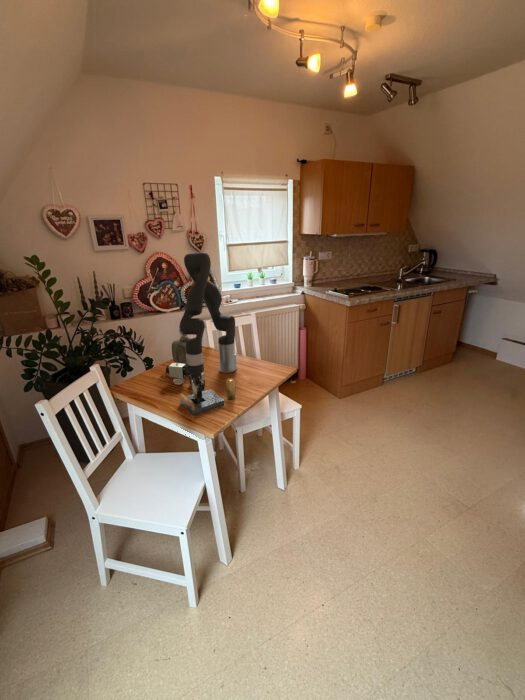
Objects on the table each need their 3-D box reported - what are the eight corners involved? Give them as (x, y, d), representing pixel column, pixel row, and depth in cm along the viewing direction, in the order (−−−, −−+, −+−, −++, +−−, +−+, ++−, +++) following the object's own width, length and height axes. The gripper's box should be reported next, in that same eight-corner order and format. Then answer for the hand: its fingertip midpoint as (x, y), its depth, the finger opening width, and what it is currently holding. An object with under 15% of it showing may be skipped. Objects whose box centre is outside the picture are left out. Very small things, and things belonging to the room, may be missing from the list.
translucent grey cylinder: (199, 398, 153) (198, 380, 150) (203, 402, 150) (202, 383, 147) (192, 401, 151) (190, 382, 148) (195, 404, 148) (194, 385, 145)
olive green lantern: (200, 369, 192) (197, 328, 183) (189, 374, 185) (185, 332, 176) (184, 363, 199) (180, 324, 191) (172, 368, 193) (168, 328, 184)
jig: (210, 394, 162) (210, 385, 161) (224, 405, 152) (224, 396, 150) (180, 403, 154) (179, 394, 152) (193, 416, 143) (192, 406, 141)
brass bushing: (232, 395, 161) (231, 377, 157) (236, 399, 158) (236, 380, 154) (225, 398, 159) (224, 379, 155) (229, 401, 156) (228, 382, 152)
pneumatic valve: (187, 386, 170) (185, 365, 166) (167, 384, 172) (164, 363, 168) (191, 381, 175) (189, 361, 171) (171, 380, 178) (169, 359, 173)
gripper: (209, 365, 140) (211, 399, 146) (195, 355, 151) (198, 388, 157) (193, 369, 136) (196, 404, 142) (180, 358, 147) (183, 392, 153)
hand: (197, 395), depth 150 cm, fingers closed on translucent grey cylinder, 4 cm apart
